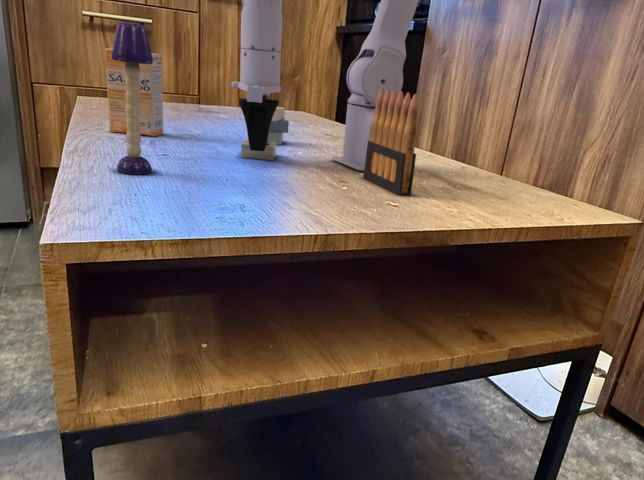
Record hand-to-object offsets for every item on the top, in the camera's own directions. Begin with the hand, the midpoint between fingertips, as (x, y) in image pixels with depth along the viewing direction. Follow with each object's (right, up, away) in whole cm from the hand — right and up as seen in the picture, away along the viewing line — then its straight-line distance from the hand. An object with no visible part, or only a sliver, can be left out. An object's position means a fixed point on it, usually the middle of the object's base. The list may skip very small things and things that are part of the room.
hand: (257, 150), depth 90 cm
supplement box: (-23, +8, +15) cm, 28 cm away
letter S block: (0, 0, +4) cm, 4 cm away
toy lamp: (-14, -8, -14) cm, 21 cm away
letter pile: (0, +8, +18) cm, 20 cm away
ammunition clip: (+18, -8, -9) cm, 22 cm away
